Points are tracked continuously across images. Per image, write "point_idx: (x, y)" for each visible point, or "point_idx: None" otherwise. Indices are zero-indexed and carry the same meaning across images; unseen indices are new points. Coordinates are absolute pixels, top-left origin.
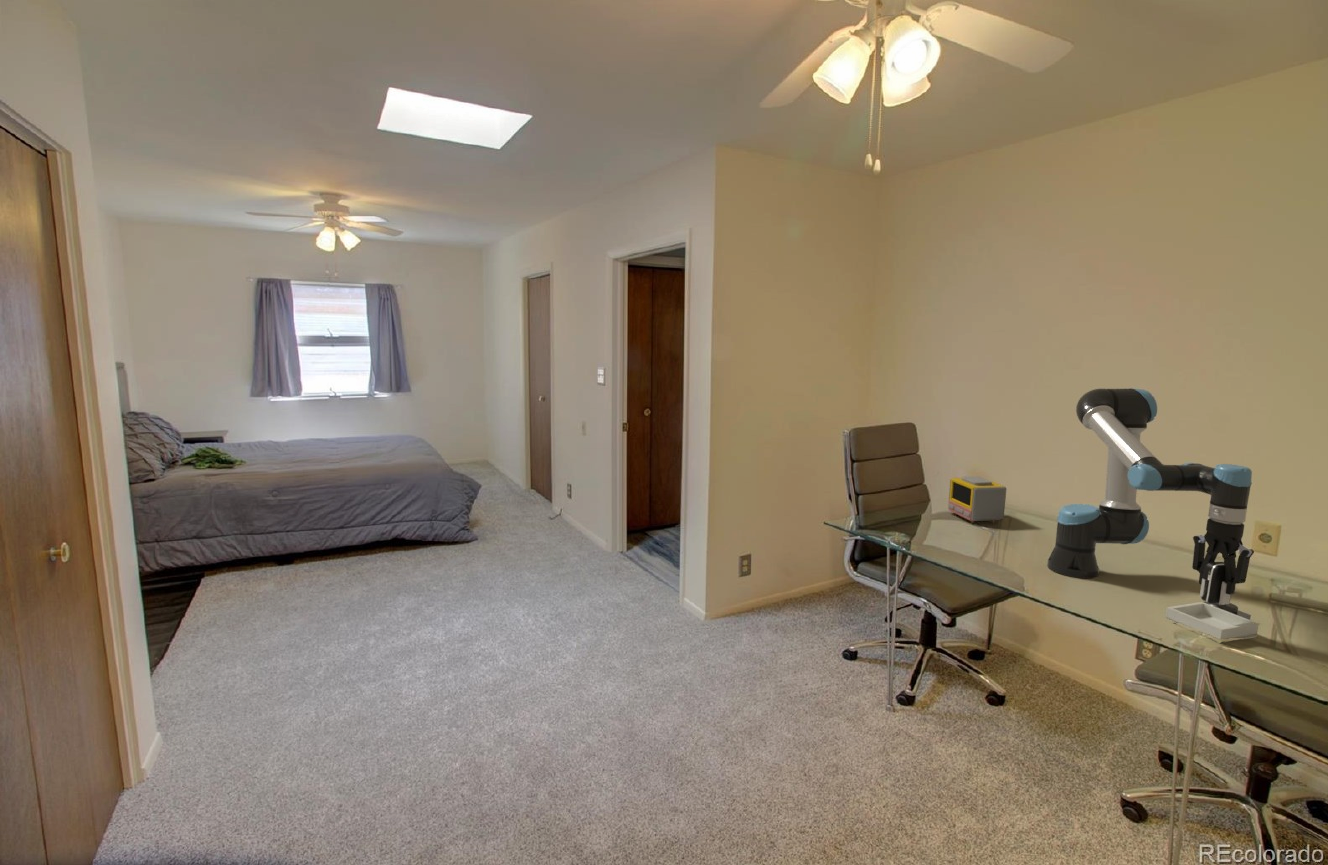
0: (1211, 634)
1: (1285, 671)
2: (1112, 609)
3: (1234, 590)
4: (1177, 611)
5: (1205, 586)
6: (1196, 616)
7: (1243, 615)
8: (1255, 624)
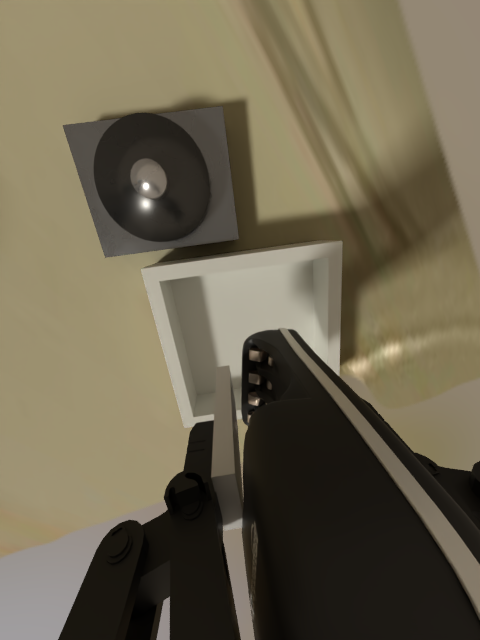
0: None
1: (447, 354)
2: (123, 467)
3: (378, 414)
4: None
5: (237, 441)
6: (191, 317)
7: (222, 151)
8: (341, 259)
